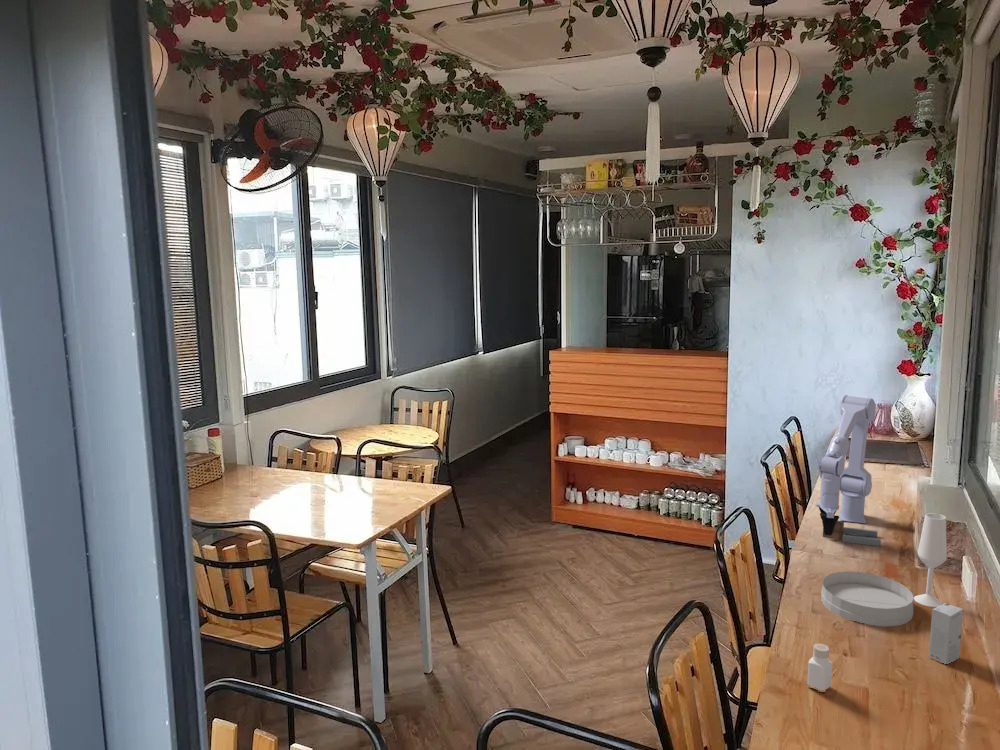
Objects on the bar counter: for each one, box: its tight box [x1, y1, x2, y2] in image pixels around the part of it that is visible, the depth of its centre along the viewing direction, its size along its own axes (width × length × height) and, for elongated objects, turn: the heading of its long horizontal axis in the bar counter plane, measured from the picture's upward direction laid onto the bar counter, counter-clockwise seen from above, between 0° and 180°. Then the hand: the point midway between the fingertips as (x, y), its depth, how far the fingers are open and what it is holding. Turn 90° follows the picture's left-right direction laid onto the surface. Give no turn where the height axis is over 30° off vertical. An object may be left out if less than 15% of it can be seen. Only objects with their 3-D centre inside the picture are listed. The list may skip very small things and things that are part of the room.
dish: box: [820, 571, 914, 627], centre depth 197 cm, size 22×22×5 cm
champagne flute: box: [913, 512, 948, 608], centre depth 197 cm, size 7×7×24 cm
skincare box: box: [928, 602, 964, 665], centre depth 171 cm, size 6×4×12 cm
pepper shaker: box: [806, 643, 833, 690], centre depth 160 cm, size 4×4×10 cm
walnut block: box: [822, 520, 845, 541], centre depth 243 cm, size 4×5×5 cm
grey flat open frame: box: [841, 526, 881, 547], centre depth 241 cm, size 8×11×2 cm
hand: (827, 531), depth 244 cm, fingers closed on walnut block, 5 cm apart
